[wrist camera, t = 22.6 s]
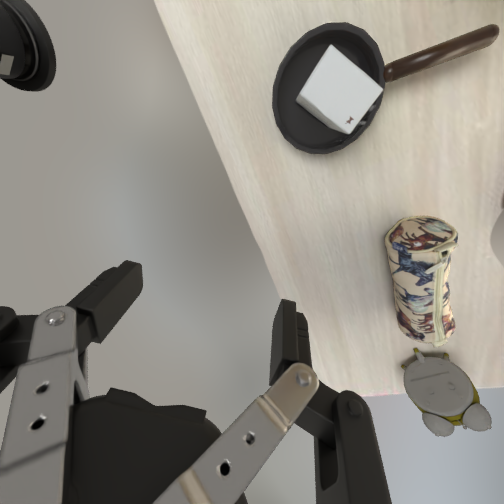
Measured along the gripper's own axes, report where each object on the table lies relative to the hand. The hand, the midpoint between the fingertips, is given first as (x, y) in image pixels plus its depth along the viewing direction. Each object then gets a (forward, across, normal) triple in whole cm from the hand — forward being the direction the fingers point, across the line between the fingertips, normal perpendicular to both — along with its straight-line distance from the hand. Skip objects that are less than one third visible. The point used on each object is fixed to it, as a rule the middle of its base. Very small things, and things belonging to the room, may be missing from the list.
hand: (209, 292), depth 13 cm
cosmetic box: (+28, -6, -11) cm, 31 cm away
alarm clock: (+28, -46, +31) cm, 62 cm away
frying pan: (+28, -6, -12) cm, 31 cm away
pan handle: (+26, -16, -17) cm, 35 cm away
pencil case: (+28, -30, +10) cm, 43 cm away
